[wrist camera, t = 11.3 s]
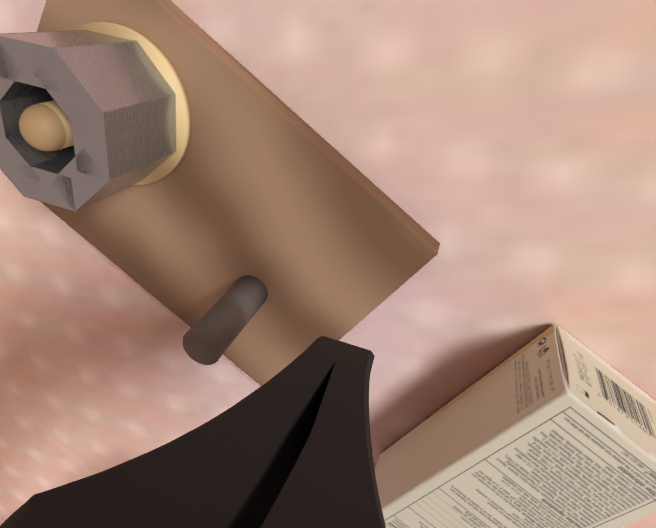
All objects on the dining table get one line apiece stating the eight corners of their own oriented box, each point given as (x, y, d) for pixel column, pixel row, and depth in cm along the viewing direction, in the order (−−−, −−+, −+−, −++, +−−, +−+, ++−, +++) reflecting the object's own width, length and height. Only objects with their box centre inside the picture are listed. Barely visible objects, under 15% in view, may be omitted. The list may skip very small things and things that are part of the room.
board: (281, 383, 26) (230, 470, 21) (13, 159, 24) (-108, 196, 19) (439, 243, 19) (420, 322, 15) (89, -72, 18) (-63, -103, 13)
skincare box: (556, 318, 19) (376, 446, 26) (570, 393, 16) (355, 520, 22) (672, 412, 20) (464, 515, 26) (711, 507, 16) (458, 599, 23)
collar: (176, 188, 20) (113, 223, 17) (68, 158, 21) (-12, 185, 18) (175, 48, 18) (98, 57, 14) (50, 22, 19) (-48, 24, 15)
